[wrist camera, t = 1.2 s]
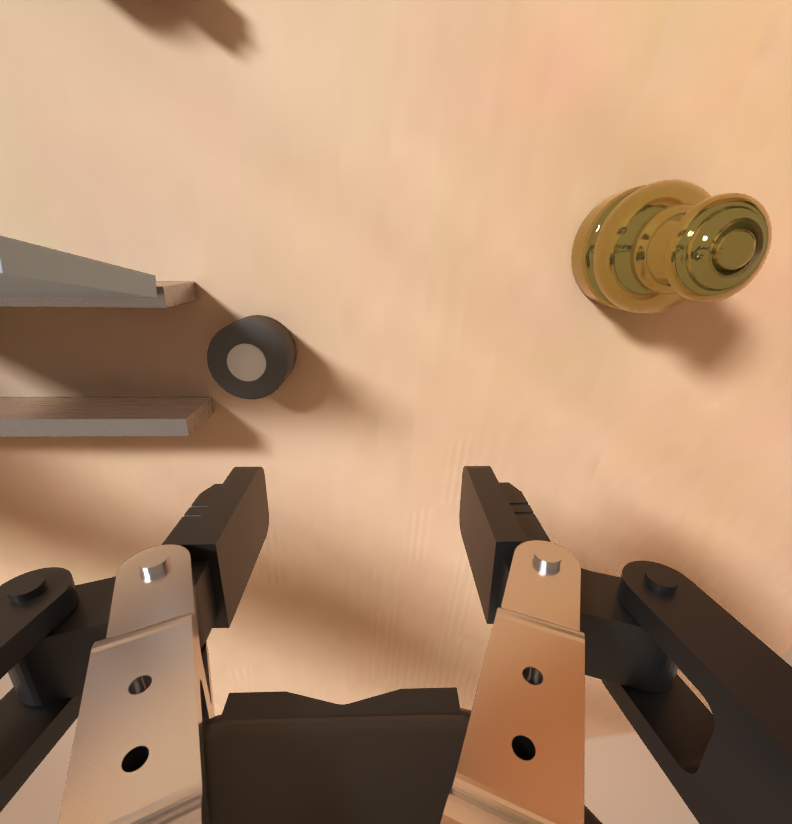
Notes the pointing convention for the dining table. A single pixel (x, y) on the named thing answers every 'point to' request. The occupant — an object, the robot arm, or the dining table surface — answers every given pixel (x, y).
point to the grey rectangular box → (105, 411)
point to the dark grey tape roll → (252, 356)
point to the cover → (65, 274)
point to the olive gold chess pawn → (669, 247)
